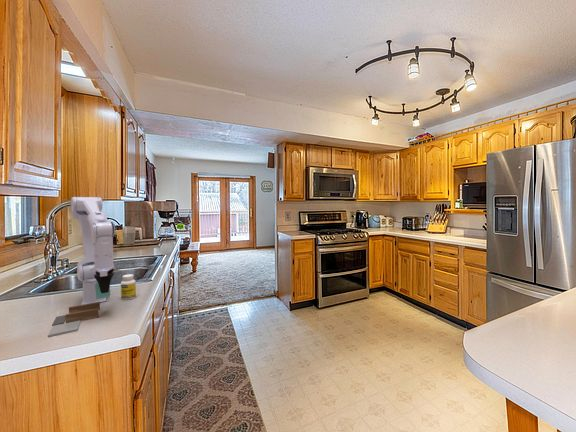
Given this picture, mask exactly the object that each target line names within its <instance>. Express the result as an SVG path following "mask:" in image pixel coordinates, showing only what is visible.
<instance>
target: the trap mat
mask: <svg viewBox="0 0 576 432" xmlns="http://www.w3.org/2000/svg"><path fill="white" fill-rule="evenodd" d="M65 315H66V314H64V315H59V316H56V317H55V319H54V320H53V322H52V325H51V326H52V327H53V326H55V325H60V324H65V323H66V322H65Z"/></svg>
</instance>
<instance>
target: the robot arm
mask: <svg viewBox="0 0 576 432" xmlns="http://www.w3.org/2000/svg"><path fill="white" fill-rule="evenodd" d="M70 208H71V215H72V217H73V219H75V220H78V222H79V226H80V232H81V239H82V247H83V248H82V249H83V255H84V257H83V258H82V259H80V260H79V261H78V262H77V264H76V276H77V280H78V281H80V282H82V301H81V303H80V305H83V304H89V303H95V302H100V303H104V302H107V297H105V298H100V299H96V290H95V284H96V283H98V284H99V287H100V291H101V293H107V292H109V288H110V287H111V281H112V278H113V277H114V271H115V270H114V268H115V263H114V242H113V241H114V236H115V235H116V233H115V232H116V228H115V224H114V221H111V220H108V218H107V216H106V214H105V213H104V212H102V210H103V199H102V198H101V197H100V196H97V197H96V196H91V197H90V196H89V197H87V196H73V197H71V199H70ZM110 289H111V288H110Z"/></svg>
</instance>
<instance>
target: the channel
mask: <svg viewBox="0 0 576 432" xmlns="http://www.w3.org/2000/svg"><path fill="white" fill-rule="evenodd" d="M100 310H101V302H95V303H89V304H83V305H81V304H77V305H73V306H69V307H68V313H65V314H64V315H65V322H64V323H70V322H74V321H79V320H80V322H82V321H86V320H87V321H88V320H91V319H97V318H99V317H100Z"/></svg>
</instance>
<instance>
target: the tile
mask: <svg viewBox="0 0 576 432" xmlns="http://www.w3.org/2000/svg"><path fill="white" fill-rule="evenodd" d="M80 324H81V321H80V320H79V321H74V322H70V323H66V322H64V324H60V325H55V326H52V327H51V329H50V331H49V332H48V334H47V338H50V337H55V336H60V335H64V334H69V333H73V332H78V331H79V327H80Z"/></svg>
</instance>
